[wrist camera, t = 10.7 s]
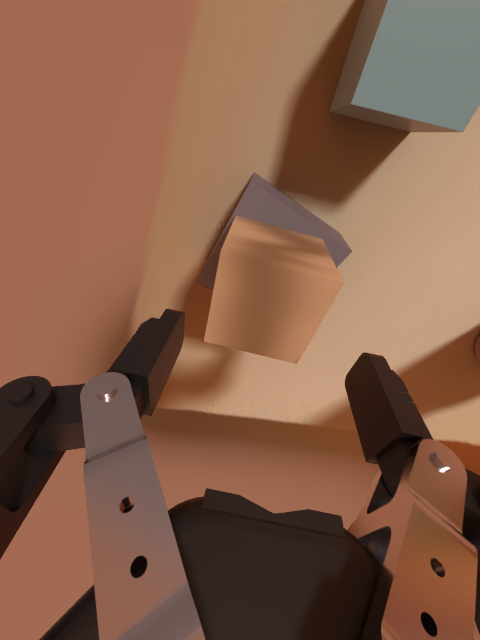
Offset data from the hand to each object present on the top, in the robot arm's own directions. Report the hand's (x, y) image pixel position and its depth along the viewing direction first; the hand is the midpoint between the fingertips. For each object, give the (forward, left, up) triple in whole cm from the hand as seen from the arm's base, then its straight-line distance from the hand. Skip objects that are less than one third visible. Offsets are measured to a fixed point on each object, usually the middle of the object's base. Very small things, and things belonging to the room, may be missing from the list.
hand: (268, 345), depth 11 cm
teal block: (+6, -10, -11) cm, 16 cm away
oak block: (0, 0, -7) cm, 7 cm away
